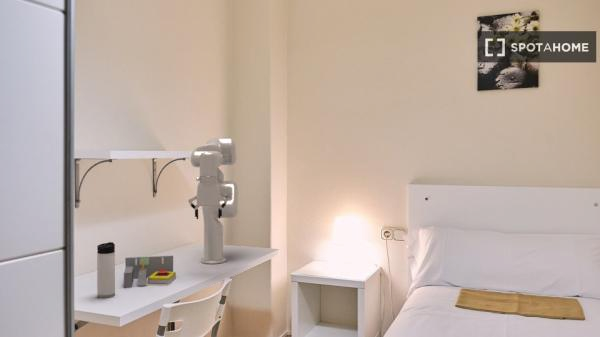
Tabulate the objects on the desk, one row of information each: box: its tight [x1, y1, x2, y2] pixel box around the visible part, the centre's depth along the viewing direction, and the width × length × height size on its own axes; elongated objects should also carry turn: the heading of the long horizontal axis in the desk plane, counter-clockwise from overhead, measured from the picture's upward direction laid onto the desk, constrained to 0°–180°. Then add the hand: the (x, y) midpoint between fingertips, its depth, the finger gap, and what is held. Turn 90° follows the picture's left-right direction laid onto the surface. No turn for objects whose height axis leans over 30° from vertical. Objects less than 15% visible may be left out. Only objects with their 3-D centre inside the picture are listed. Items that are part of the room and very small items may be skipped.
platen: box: [137, 261, 148, 287], centre depth 207 cm, size 11×3×8 cm, turn 15°
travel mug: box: [96, 241, 116, 299], centre depth 188 cm, size 6×7×20 cm
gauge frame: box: [123, 255, 174, 289], centre depth 209 cm, size 16×20×9 cm
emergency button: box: [145, 271, 178, 287], centre depth 210 cm, size 9×4×15 cm
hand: (208, 218), depth 219 cm, fingers open, 9 cm apart
